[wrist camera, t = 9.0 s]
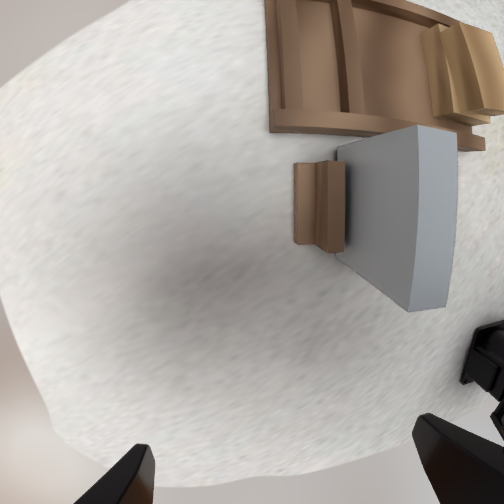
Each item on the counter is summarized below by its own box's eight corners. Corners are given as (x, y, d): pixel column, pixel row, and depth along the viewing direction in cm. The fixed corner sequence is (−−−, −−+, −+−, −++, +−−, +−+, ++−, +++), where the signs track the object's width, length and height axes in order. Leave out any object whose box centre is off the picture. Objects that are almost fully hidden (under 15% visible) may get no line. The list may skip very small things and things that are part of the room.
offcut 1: (458, 48, 17) (475, 39, 14) (469, 126, 18) (490, 123, 16) (420, 34, 16) (437, 23, 14) (432, 117, 18) (453, 112, 15)
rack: (448, 32, 17) (465, 23, 15) (465, 151, 19) (485, 150, 17) (264, -6, 16) (268, -25, 14) (269, 132, 18) (275, 125, 16)
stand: (391, 168, 19) (418, 166, 16) (389, 238, 21) (415, 249, 17) (294, 163, 19) (307, 160, 16) (294, 241, 20) (307, 253, 17)
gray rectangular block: (366, 149, 18) (456, 133, 9) (364, 256, 20) (445, 306, 11) (337, 146, 18) (417, 125, 9) (336, 257, 20) (407, 312, 11)
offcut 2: (471, 42, 14) (491, 33, 12) (491, 116, 16) (514, 112, 13) (438, 33, 14) (458, 21, 12) (460, 112, 15) (484, 107, 13)
